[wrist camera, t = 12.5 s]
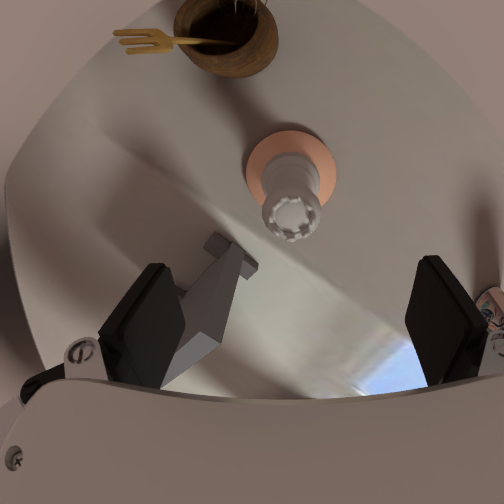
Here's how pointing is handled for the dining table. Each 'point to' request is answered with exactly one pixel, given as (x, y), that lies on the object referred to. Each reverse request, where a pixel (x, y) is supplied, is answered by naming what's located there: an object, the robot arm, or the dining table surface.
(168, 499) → the robot arm
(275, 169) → the rook chess piece
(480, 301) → the beer can
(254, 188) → the pink round domed part
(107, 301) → the dining table surface
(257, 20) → the utensil holder
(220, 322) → the grey upright panel
